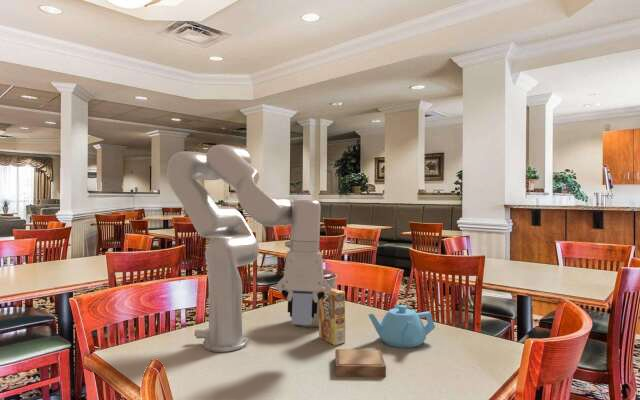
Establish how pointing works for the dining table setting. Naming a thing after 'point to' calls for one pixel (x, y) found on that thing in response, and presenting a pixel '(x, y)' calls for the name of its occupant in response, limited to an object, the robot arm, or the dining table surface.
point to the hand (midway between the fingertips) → (302, 314)
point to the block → (302, 308)
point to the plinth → (360, 363)
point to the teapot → (403, 327)
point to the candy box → (332, 317)
